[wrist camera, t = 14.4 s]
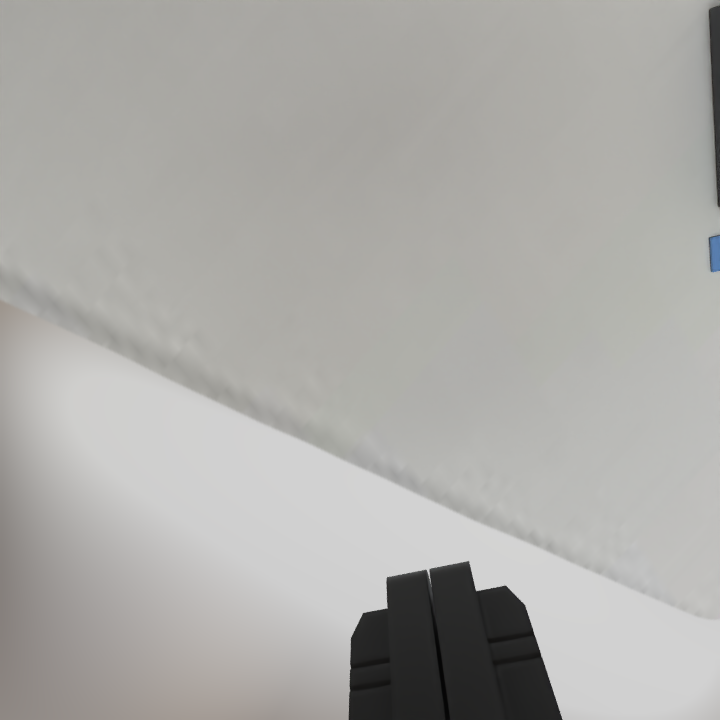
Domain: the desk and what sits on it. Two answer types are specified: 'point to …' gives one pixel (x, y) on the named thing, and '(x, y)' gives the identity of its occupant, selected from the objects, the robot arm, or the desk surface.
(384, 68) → the desk surface
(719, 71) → the dark raised-panel slab
